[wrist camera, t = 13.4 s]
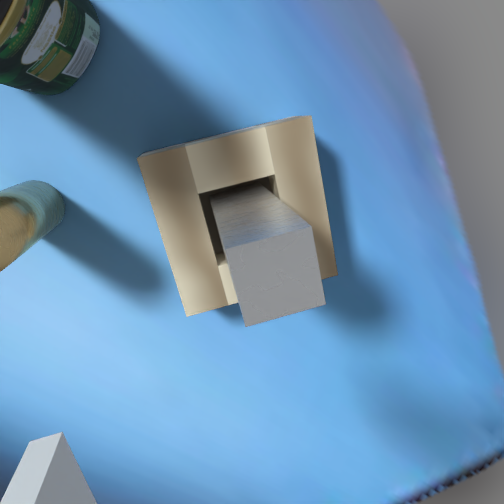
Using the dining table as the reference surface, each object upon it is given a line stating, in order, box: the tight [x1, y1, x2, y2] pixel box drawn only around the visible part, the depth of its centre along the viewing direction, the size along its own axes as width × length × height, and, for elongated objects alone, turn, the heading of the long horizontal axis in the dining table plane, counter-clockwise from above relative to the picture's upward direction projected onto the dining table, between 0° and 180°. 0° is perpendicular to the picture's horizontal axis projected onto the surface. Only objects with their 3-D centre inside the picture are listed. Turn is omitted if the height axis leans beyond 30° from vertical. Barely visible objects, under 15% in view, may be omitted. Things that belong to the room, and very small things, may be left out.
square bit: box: [209, 182, 326, 327], centre depth 25 cm, size 4×4×14 cm
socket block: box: [137, 116, 338, 317], centre depth 31 cm, size 12×12×5 cm
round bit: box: [0, 180, 65, 272], centre depth 27 cm, size 4×4×10 cm
